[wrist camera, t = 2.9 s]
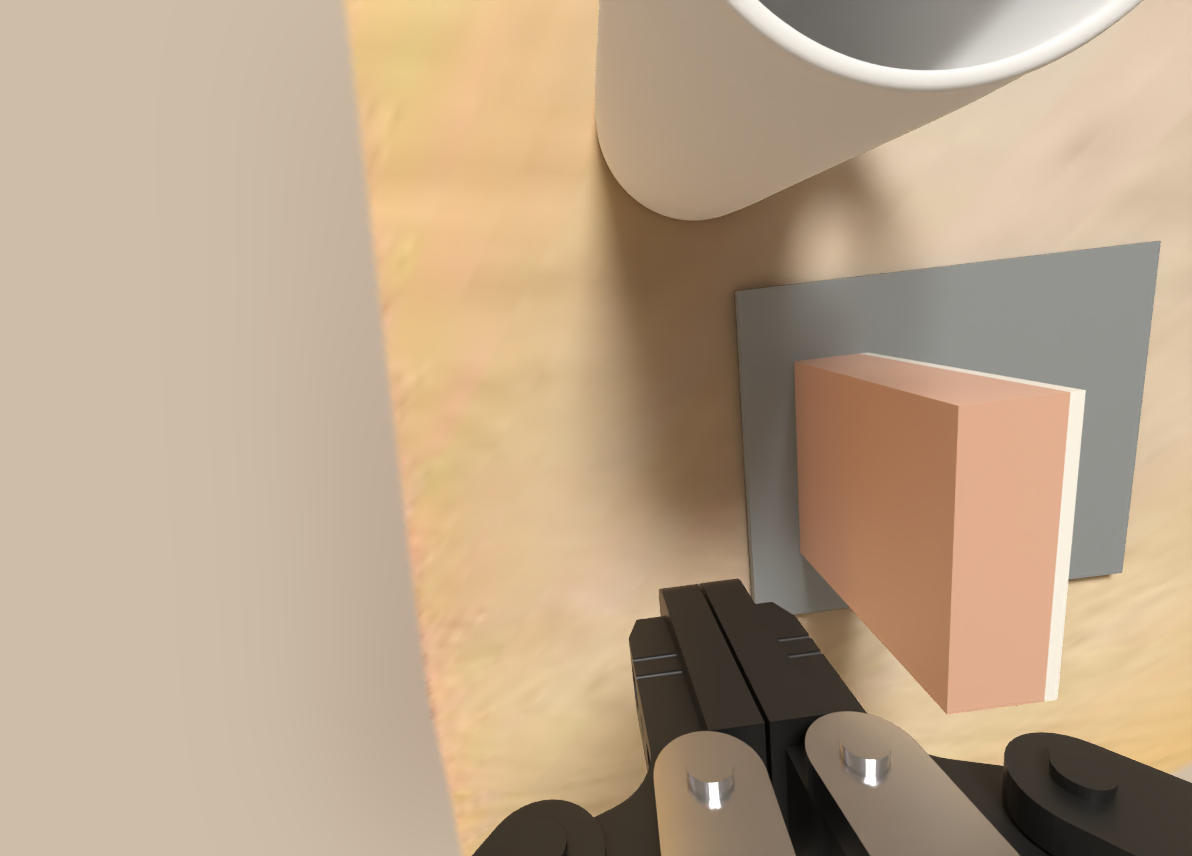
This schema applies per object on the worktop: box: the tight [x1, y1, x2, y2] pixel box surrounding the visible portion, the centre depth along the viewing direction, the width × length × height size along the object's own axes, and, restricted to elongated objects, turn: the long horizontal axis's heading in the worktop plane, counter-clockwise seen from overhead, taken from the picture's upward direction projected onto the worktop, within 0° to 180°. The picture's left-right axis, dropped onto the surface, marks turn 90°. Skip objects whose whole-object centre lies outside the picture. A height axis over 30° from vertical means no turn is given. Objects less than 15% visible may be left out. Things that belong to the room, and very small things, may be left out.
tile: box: [794, 352, 1086, 714], centre depth 15 cm, size 2×7×8 cm, turn 6°
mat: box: [735, 241, 1161, 615], centre depth 19 cm, size 14×12×1 cm
